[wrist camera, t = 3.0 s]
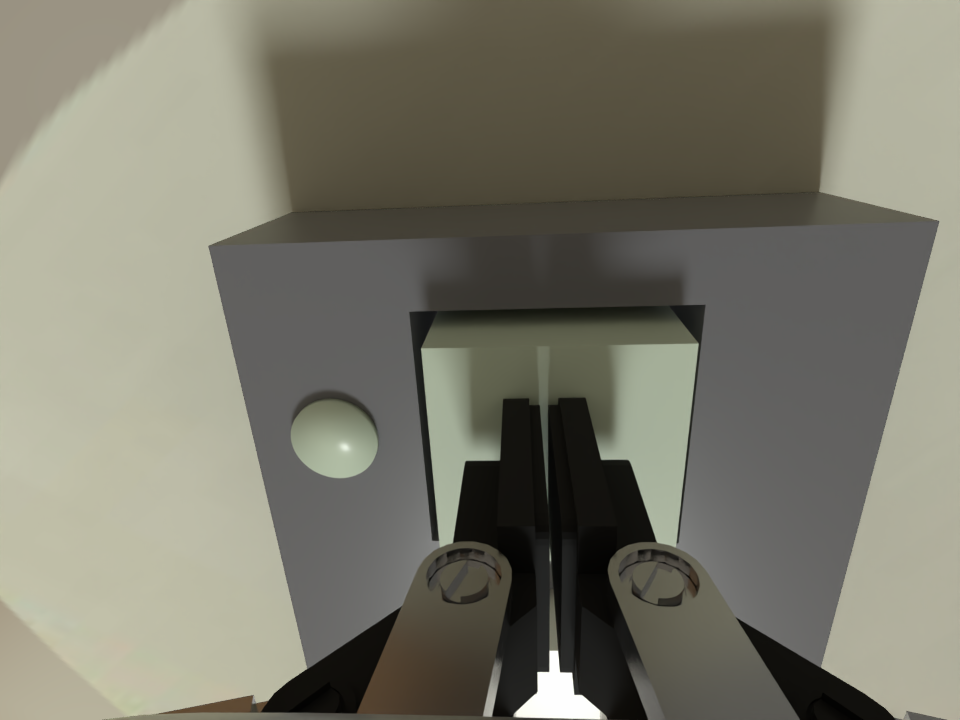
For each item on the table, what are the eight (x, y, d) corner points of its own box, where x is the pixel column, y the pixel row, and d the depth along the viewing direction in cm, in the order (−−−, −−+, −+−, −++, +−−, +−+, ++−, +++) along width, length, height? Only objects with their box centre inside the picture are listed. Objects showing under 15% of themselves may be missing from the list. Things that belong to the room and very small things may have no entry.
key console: (820, 192, 14) (947, 222, 10) (713, 781, 24) (755, 928, 19) (291, 212, 16) (203, 247, 11) (387, 766, 25) (358, 902, 21)
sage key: (662, 296, 13) (698, 343, 10) (646, 482, 15) (674, 562, 12) (441, 302, 14) (420, 348, 11) (455, 482, 16) (441, 559, 13)
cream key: (644, 560, 16) (670, 654, 13) (633, 689, 18) (653, 794, 15) (459, 557, 16) (445, 647, 13) (468, 684, 18) (459, 784, 15)
